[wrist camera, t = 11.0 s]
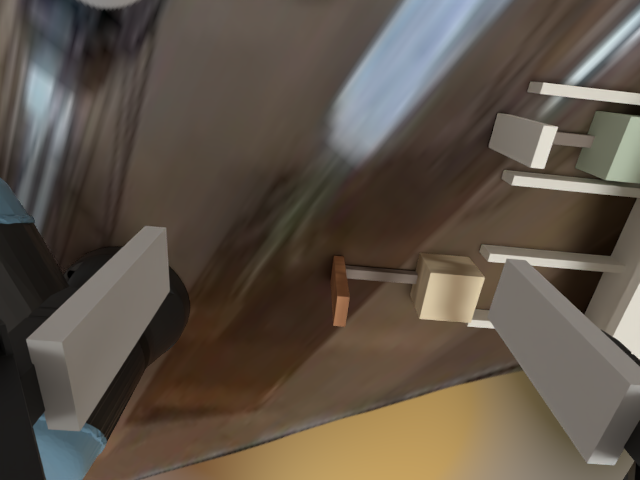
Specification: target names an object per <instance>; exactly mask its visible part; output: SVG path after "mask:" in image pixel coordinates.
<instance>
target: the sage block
mask: <svg viewBox="0 0 640 480" xmlns="http://www.w3.org/2000/svg"><path fill="white" fill-rule="evenodd" d="M557 129H558V127H556V126H553V125H549V124H545V123H541V122H537V121H533V120H529V119H526V118H522V117H518V116H514V115H510V114H502V113H498V114H497V117H496V121H495V124H494V128H493V132H492V135H491V139H490V143H489V146H488V147H489V148H491V149H493V150H495V151H497V152H499V153H501V154H503V155H505V156H507V157H509V158H512V159H514V160H516V161H518V162H520V163H522V164H524V165H526V166H528V167H530V168H540V169H544V167H545V164H546V161H547V158H548V155H549V152H550V149H551V146H552V144H557V145H567V146H576V147H582V150H581V153H580V156H579V158H578V161H577V164H576V166H575V168H577V169H579V170H582V171H584V172H587V173H589V174H592V175H594V176H597V177H599V178H602V179H604V180H610V181H620V182H630V183H639V184H640V116H639V115H630V114H621V113H613V112H604V111H596V112H595V115H594V118H593V121H592V123H591V126H590V129H589V131H588V134H577V133H568V132H559V131H557Z"/></svg>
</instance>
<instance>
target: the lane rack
mask: <svg viewBox="0 0 640 480" xmlns="http://www.w3.org/2000/svg"><path fill="white" fill-rule="evenodd" d="M527 92H530V93H538V94H546V95H555V96H564V97H572V98H581V99H590V100H599V101H608V102H616V103H625V104H634V105H640V94H638V93H629V92H621V91H612V90H604V89H595V88H586V87H578V86H569V85H560V84H552V83H543V82H531V81H530V84H529V88H528V91H527ZM501 179H503V180H504V181H506V182H507V183H509V184H511V185H516V186H526V187H536V188H546V189H556V190H566V191H576V192H585V193H595V194H605V195H615V196H625V197H635V198H637V199H636V201H635V204H634V206H633V208H632V210H631V212H630V215H629V217H628V219H627V221H626V223H625V226H624V228H623V230H622V232H621V234H620V237H619V239H618V241H617V243H616V246H615V248H614V250H613V252H612V254H611V256H603V255H592V254H581V253H571V252H560V251H549V250H538V249H527V248H516V247H506V246H495V245H484V244H482V245H481V248H480V251H479V252H480V253H481V254H482V255H483V257H484V258H485V259H486V260H487V261H489V262H500V263H505V262H506V259H518V260H526V261H527V262H528V263H529V264H530V265H533V266H544V267H555V268H566V269H577V270H588V271H600V272H603V274H602V277H601V279H600V281H599V283H598V285H597V288H596V290H595V292H594V294H593V296H592V299H591V301H590V303H589V305H588V308H587V310H586V312H585V314H584V315H585V316H586V317H587V318H588V319H589V320H590V321H591V322H592V323H594V324H595V325H596V326H597V327H598V328H599V329H600V330H603V331H604V332H606V333H608V334H609V335H611V336H612V337H614V338H616V339H617V340H619V341H620V342H621V343H622V344H623V345H624V346H625V347H626V348H628V349H629V350H630V351H631V354H634V355H635V356H636V357H637V358H638V359H640V184H637V183H627V182H618V181H608V180H598V179H589V178H579V177H569V176H559V175H550V174H540V173H530V172H521V171H511V170H504V171H503V174H502V178H501ZM488 313H489V310H481V309H475V311H474V314H473V317H472V321H471V323H466V322H465V323H466V325H467V326H470V327H482V328H494V326H493V325H492V323H491V322H490V320H489V319H488V317H487V316H488Z"/></svg>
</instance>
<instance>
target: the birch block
mask: <svg viewBox="0 0 640 480" xmlns="http://www.w3.org/2000/svg"><path fill="white" fill-rule="evenodd" d="M347 278H350V279H362V280H374V281H386V282H398V283H409V284H413V285H412V289H411V293H410V297H411V299H412V302H413V304H414V306H415V309H416V311H417V314H418V316H419V319H429V320H441V321H453V322H466V323H471V321H472V317H473V314H474V311H475V308H476V304H477V301H478V298H479V295H480V292H481V288H482V285H483V282H484V279H485V277H484V276H483V274H482V273H481V272H480V271H479V269H478V268H477V267H476V266H475V264H474V263H473V262H472V260H471V259H470V258H469V257H464V256H452V255H441V254H429V253H420V254H419V258H418V263H417V267H416V271H406V270H395V269H383V268H372V267H360V266H349V265H345V261H344V256H334V258H333V266H332V274H331V295H332V311H333V326H345V324H346V318H347V311H348V305H349V298H350V296H349V289H348V282H347Z"/></svg>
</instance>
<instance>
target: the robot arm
mask: <svg viewBox="0 0 640 480" xmlns="http://www.w3.org/2000/svg"><path fill="white" fill-rule="evenodd" d="M33 222H35V220H34V218H33V217H32V216H29V215H28V214H27V212H26V211H25V209H24V208H23V206H22V205H21V203H20V202H19V200H18V199H17V197H16V196H15V194H14V193H13V191H12V190H11V188H10V187H9V185H8V184H7V183H6V182H5V181H4V180H3V179H1V178H0V480H82V479H83V478H84V476H85V475H86V473H87V472H88V470H89V468H90V467H91V465H92V464H93V462H94V461H95V459H96V457H97V456H98V455H99V454H100V453H101V452H102V451H103V449H104V448H105V446H106V443H107V441H108V439H109V437H110V435H111V433H112V431H113V430H114V428H115V426H116V424H117V422H118V420H119V418H120V416H121V414H122V413H123V411H124V409H125V407H126V405H127V403H128V401H129V399H130V397H131V395H132V394H133V392H134V390H135V388H136V386H137V384H138V382H139V380H140V378H141V376H142V375H143V373H144V371H145V369H146V368H147V367H148V366H149V365H150V364H151V363H152V362H154V361H155V360H156V359H157V358H158V357H159V356H161V355H162V354H163V353H165V352H166V351H167V350H169V349H170V348H171V347H172V346H173V345H174V344H175V343H176V342H177V340H178V339H179V338H180V336H181V334H182V332H183V330H184V328H185V326H186V324H187V321H188V318H189V313H190V303H189V297H188V294H187V291H186V289H185V287H184V285H183V283H182V281H181V280H180V279H179V277H178V276H177V275H176V273H175V272H174V271H173V270H172V269H171V268H170V267H169V266H168V249H167V232H166V228H165V227H154V226H145V227H143V228H142V229H141V230H140V231H139V232H138V233H137V234H136V235H135V236H134V237H133V238H132V239H131V240H130V241H129V242H128V243H127V244H126V245H125V246H124V247H107V248H101V249H97V250H94V251H92V252H90V253H88V254H86V255H84V256H83V257H81V258H80V259H79V260H78V261H76V262H75V263H74V264H73V265H72V266H71V267H69V268H68V269H67V271H66V272H65V273H64V274H62V272H61V271H60V269H59V267H58V265H57V264H56V262H55V260H54V258H53V257H52V255H51V253H50V251H49V249H48V248H47V246H46V244H45V242H44V241H43V239H42V237H41V235H40V233H39V232H38V230H37V228H36V226H35V224H34V223H33ZM487 317H488V319H489V320H490V322H491V323H492V325H493V326H494V328H495V329H496V331H497V332H498V333H499V335H500V336H501V338H502V339H503V341H504V342H505V344H506V345H507V347H508V348H509V350H510V351H511V353H512V354H513V355H514V357H515V358H516V360H517V361H518V363H519V364H520V366H521V367H522V369H523V370H524V372H525V373H526V375H527V376H528V378H529V379H530V380H531V382H532V383H533V385H534V386H535V388H536V389H537V391H538V392H539V394H540V395H541V397H542V398H543V400H544V401H545V403H546V404H547V405H548V407H549V408H550V410H551V411H552V413H553V414H554V416H555V417H556V419H557V420H558V421H559V423H560V425H561V426H562V428H563V429H564V430H565V432H566V433H567V435H568V436H569V438H570V439H571V440H572V442H573V443H574V445H575V447H576V448H577V449H578V451H579V452H580V454H581V455H582V457H583V458H584V460H585V461H586V463H590V464H605V465H615V463H616V462H617V460H618V458H619V456H620V455H621V453H622V452H623V450H624V448H625V450H626V451H627V452H628V453H629V455H630V456H631V457H632V458H633V459H634V463H633V465H632V466H631V468H630V470H629V471H628V473H627V474H626V476H625V477H624V479H623V480H640V359H638V358H637V357H636V356H635V355H634V354H631V351H630V350H629V349H628V348H626V347H625V346H624V345H623V344H622V343H621V342H620V341H619V340H617V339H616V338H614V337H612V336H611V335H609V334H608V333H606V332H604V331H603V330H600V329H599V328H598V327H597V326H596V325H595V324H594V323H592V322H591V321H590V320H589V319H588V318H587V317H586V316H585V315H584V314H583V313H582V312H581V311H580V310H578V309H577V308H576V307H575V306H574V305H573V304H572V303H571V302H570V301H569V300H568V299H567V298H566V297H565V296H563V295H562V294H561V293H560V292H559V291H558V290H557V289H556V288H555V287H554V286H553V285H552V284H551V283H550V282H548V281H547V280H546V279H545V278H544V277H543V276H542V275H541V274H540V273H539V272H538V271H537V270H536V269H535V268H533V267H532V266H531V265H530V264H529V263H528V262H527V261H526V260H518V259H506V262H505V265H504V268H503V271H502V274H501V277H500V280H499V283H498V286H497V289H496V292H495V295H494V298H493V301H492V304H491V307H490V310H489V313H488V316H487Z"/></svg>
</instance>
